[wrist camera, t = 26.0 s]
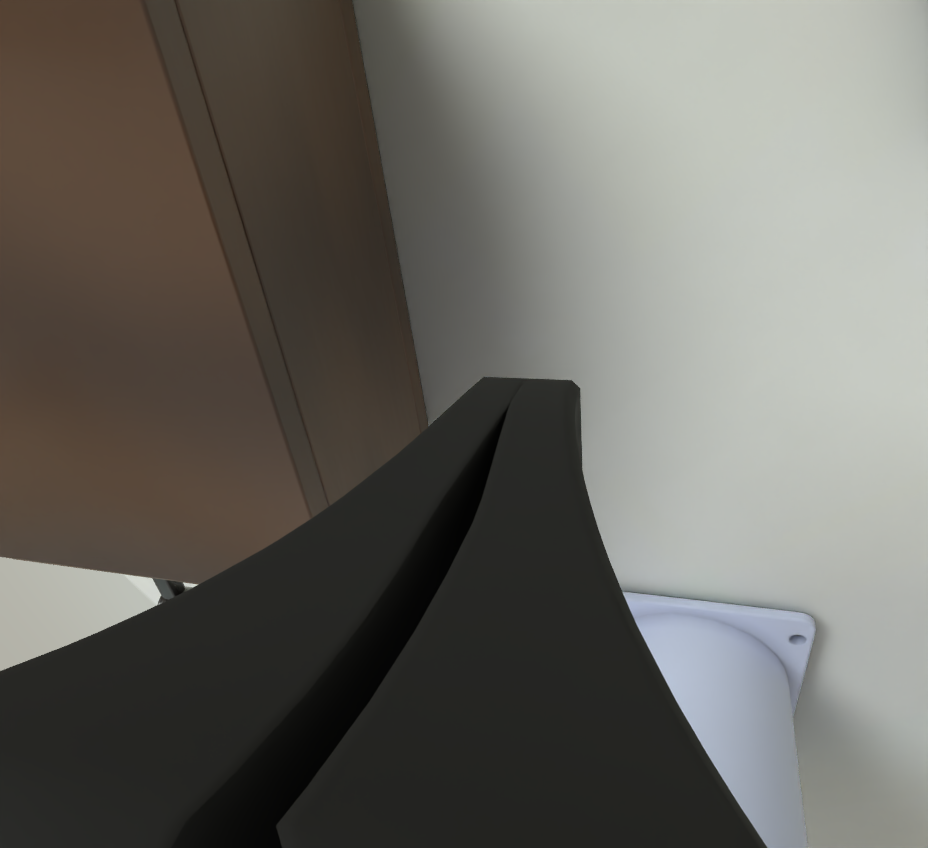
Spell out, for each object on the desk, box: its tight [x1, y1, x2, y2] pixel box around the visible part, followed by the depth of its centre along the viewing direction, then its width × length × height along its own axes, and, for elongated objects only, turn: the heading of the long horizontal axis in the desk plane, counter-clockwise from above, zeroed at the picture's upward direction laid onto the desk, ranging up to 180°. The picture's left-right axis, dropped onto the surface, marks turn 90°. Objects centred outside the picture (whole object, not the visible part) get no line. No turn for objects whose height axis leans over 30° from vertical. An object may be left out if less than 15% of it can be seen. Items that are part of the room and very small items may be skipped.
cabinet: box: [0, 0, 428, 584], centre depth 18 cm, size 15×13×8 cm
